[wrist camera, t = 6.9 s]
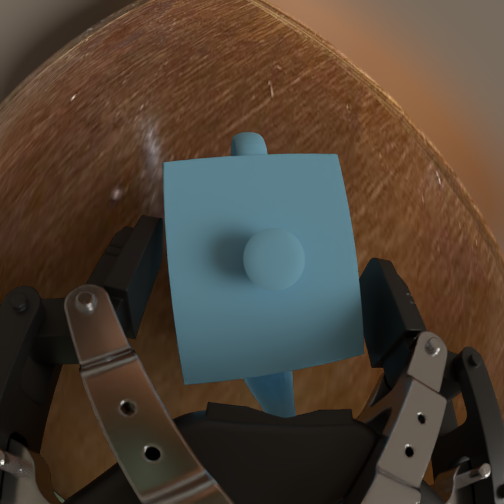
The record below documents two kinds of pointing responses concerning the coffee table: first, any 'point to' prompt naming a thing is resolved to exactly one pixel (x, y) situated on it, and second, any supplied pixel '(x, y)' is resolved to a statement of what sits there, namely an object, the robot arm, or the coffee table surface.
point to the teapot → (261, 268)
